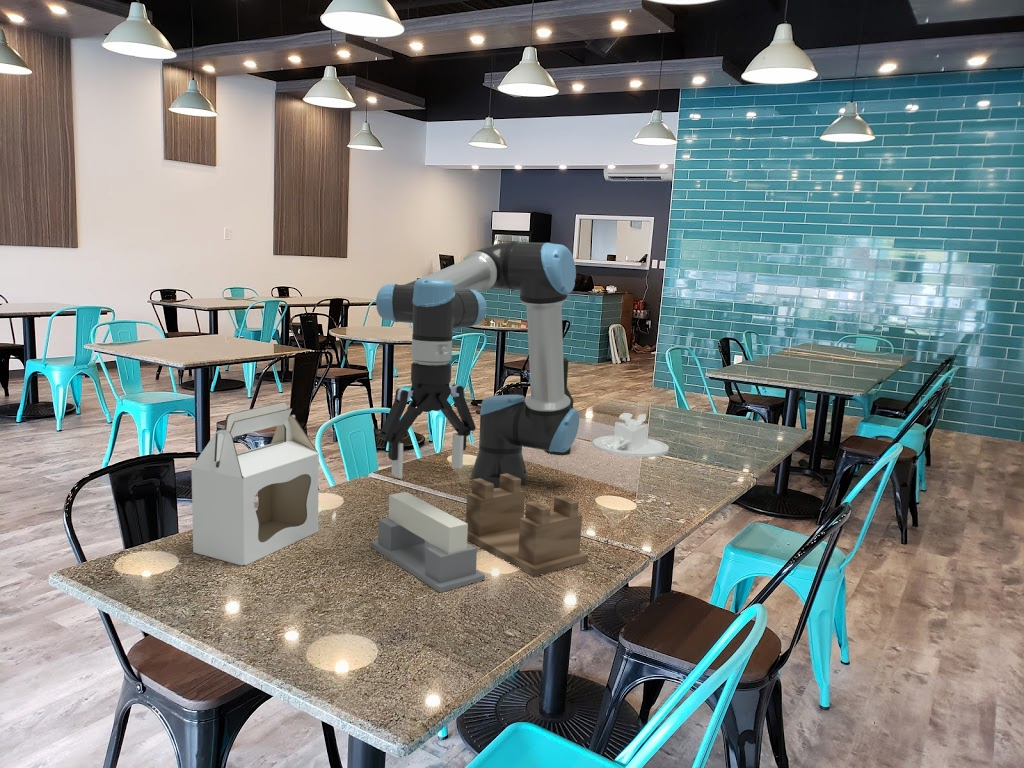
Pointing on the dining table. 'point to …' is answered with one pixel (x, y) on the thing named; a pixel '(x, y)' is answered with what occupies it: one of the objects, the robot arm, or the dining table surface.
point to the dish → (631, 439)
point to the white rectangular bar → (428, 522)
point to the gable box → (255, 488)
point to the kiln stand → (426, 558)
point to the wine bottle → (566, 392)
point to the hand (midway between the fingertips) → (427, 471)
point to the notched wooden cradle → (524, 527)
